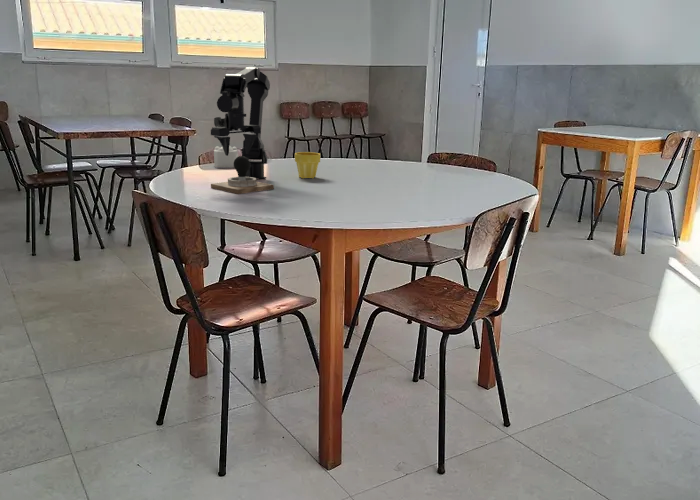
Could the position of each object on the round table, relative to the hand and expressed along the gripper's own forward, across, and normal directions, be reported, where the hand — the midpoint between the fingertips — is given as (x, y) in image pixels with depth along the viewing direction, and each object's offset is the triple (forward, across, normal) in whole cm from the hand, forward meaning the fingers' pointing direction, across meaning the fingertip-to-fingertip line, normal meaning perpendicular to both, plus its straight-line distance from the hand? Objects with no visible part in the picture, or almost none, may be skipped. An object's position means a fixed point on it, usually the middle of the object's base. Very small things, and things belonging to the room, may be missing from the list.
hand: (237, 154), depth 228 cm
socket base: (+12, +2, +5) cm, 13 cm away
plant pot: (+12, -34, +1) cm, 36 cm away
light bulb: (+10, +2, +5) cm, 11 cm away
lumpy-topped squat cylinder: (+13, -30, -47) cm, 57 cm away
